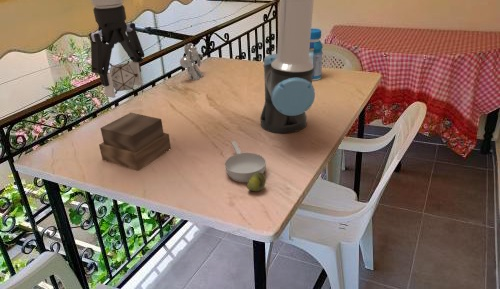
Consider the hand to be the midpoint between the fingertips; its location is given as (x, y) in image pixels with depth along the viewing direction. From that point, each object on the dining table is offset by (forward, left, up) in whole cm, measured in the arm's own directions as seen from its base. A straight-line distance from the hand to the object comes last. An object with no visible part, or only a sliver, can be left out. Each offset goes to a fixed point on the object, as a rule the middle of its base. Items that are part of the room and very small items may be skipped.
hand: (124, 90), depth 116 cm
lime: (-41, +1, -20) cm, 46 cm away
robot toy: (+26, -63, -20) cm, 71 cm away
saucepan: (-32, -7, -20) cm, 39 cm away
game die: (0, 0, 0) cm, 0 cm away
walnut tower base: (0, 0, -20) cm, 20 cm away
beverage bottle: (-21, -83, -20) cm, 88 cm away
